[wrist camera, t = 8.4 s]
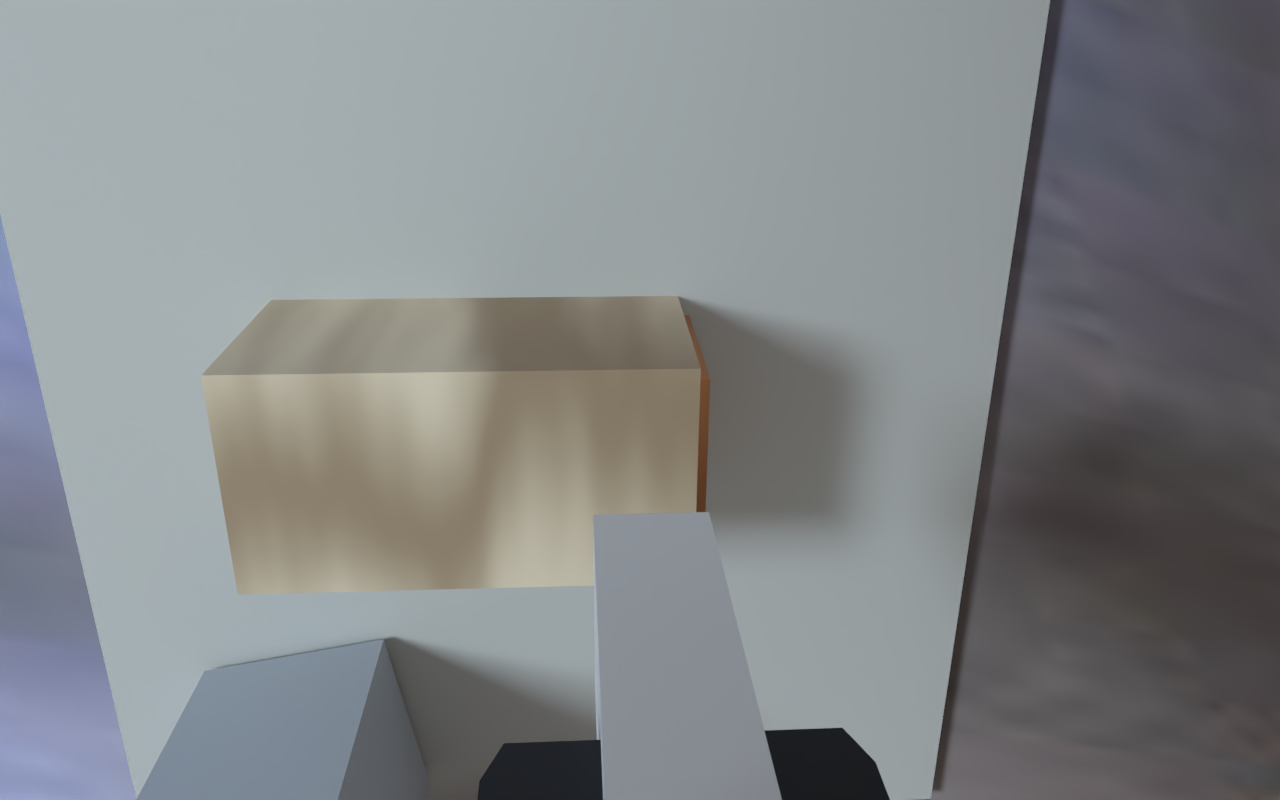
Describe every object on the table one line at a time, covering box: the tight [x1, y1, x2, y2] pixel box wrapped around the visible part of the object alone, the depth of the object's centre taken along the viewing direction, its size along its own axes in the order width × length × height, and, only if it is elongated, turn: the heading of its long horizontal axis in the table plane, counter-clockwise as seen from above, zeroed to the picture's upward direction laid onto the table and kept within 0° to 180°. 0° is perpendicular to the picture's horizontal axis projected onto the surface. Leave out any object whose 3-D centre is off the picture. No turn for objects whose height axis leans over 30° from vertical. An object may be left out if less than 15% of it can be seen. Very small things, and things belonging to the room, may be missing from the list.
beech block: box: [201, 296, 710, 595], centre depth 19 cm, size 4×4×8 cm
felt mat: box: [0, 0, 1050, 800], centre depth 21 cm, size 19×19×1 cm
